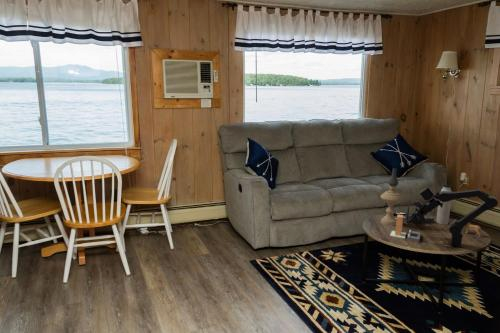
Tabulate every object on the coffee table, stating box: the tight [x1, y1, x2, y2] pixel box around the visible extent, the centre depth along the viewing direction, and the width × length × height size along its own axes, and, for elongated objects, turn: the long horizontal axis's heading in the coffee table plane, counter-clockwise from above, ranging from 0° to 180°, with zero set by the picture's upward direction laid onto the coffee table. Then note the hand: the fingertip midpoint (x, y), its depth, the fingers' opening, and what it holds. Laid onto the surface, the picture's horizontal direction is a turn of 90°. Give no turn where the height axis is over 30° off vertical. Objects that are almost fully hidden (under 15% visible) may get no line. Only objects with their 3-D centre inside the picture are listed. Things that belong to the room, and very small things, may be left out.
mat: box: [389, 230, 407, 240], centre depth 250 cm, size 9×10×1 cm
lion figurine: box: [463, 221, 485, 238], centre depth 254 cm, size 15×5×9 cm, turn 51°
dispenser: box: [406, 229, 421, 243], centre depth 245 cm, size 7×13×3 cm, turn 153°
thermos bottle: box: [435, 184, 452, 226], centre depth 274 cm, size 8×8×28 cm
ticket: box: [394, 214, 404, 236], centre depth 249 cm, size 4×6×12 cm, turn 153°
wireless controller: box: [404, 200, 435, 224], centre depth 278 cm, size 20×14×17 cm
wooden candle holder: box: [380, 167, 404, 227], centre depth 269 cm, size 15×15×40 cm
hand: (409, 219), depth 245 cm, fingers open, 9 cm apart
